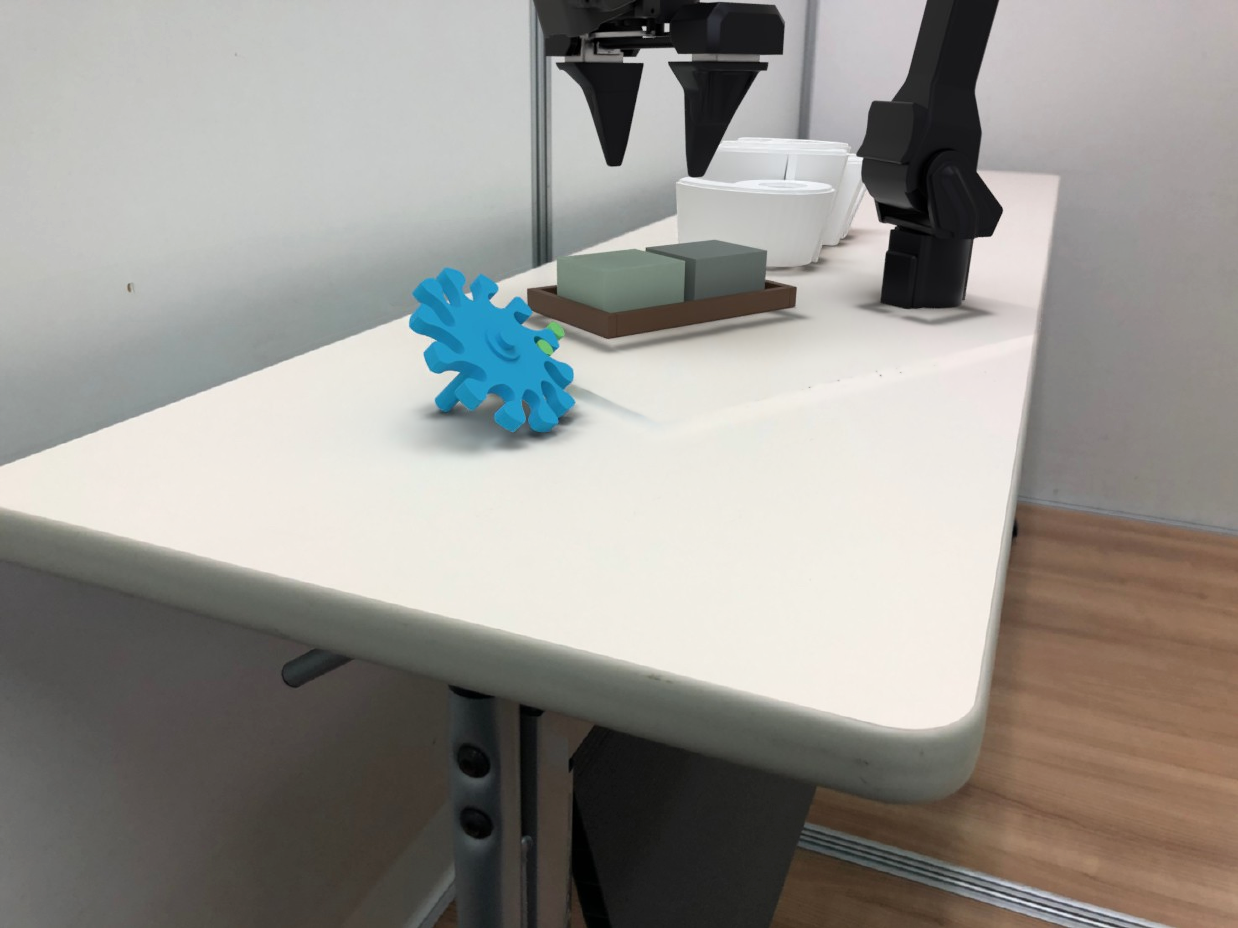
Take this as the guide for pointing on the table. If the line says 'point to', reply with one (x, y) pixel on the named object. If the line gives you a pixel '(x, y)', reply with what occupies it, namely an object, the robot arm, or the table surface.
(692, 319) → the tray
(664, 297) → the pale green block
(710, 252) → the pad
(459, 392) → the gear
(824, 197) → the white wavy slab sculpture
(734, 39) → the robot arm
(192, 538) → the table surface
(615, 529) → the table surface
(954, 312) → the table surface
